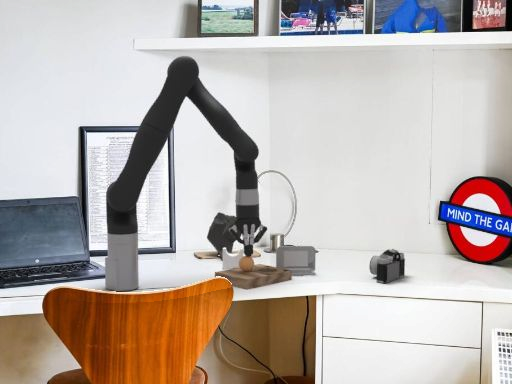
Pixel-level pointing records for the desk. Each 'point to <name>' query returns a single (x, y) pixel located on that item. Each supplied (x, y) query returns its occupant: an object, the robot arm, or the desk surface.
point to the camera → (388, 266)
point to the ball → (246, 263)
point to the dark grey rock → (222, 233)
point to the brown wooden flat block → (255, 276)
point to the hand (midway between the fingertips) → (248, 256)
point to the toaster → (296, 259)
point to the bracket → (231, 259)
